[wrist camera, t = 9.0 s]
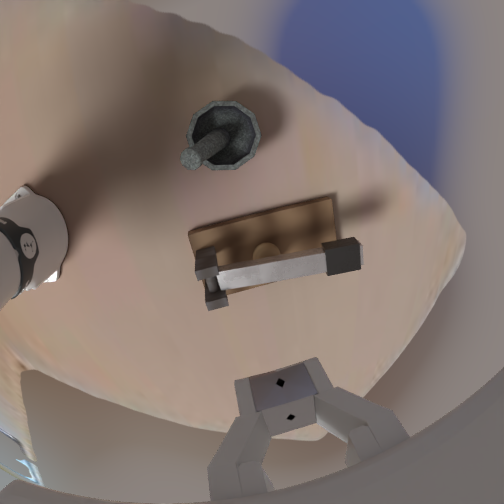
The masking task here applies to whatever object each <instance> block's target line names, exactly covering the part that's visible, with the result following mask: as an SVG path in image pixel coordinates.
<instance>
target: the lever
mask: <svg viewBox="0 0 504 504" xmlns="http://www.w3.org/2000/svg"><path fill="white" fill-rule="evenodd" d="M321 245H322V247H320V248H314V249H309V250H303V251H298V252H293V253H287V254H282V255H276V256H271V257H265V258H260V259H254V260H249V261H243V262H238V263H232V264H227V265H221V266H218V269H219V275H218V276H217V279H218V282H219V286H220V289H221V291H222V290H228V289H234V288H240V287H246V286H252V285H258V284H264V283H270V282H275V281H281V280H286V279H292V278H297V277H303V276H308V275H313V274H319V273H324V272H326V273H327V276H330V275H335V274H340V273H345V272H350V271H355V270H360V269H361V265H363V245H362V244H361V243H360V242H359V241H358V240H356V239H355V237H351V238H346V239H340V240H335V241H330V242H324V243H321Z"/></svg>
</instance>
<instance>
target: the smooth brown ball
mask: <svg viewBox="0 0 504 504" xmlns="http://www.w3.org/2000/svg"><path fill="white" fill-rule="evenodd" d="M276 255H281V254H280V251H279V249H278V248H277V247H276V246H275V245H274V244H272V243H262V244H260V245H258V246H257V247H256V248H255V250H254V252H253V260H254V259H260V258H265V257H271V256H276Z"/></svg>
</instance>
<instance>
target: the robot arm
mask: <svg viewBox="0 0 504 504" xmlns="http://www.w3.org/2000/svg"><path fill="white" fill-rule="evenodd" d="M19 195H20V196H21V197H20V196H19ZM67 247H68V233H67V227H66V224H65V221H64V219H63V216H62V214H61V213H60V211H59V210H58V208H57V207H56V206H55V205H54V204H53V203H52V202H51V201H50V200H48V199H47V198H45V197H42V196H39V195H36V194H35V193H33V191H32V190H31V189H30V188H28V187H27V186H22V187H20V188H19V189H18V190H17V191H16V192H15V193H14V194H13V195H12V196H11V197H10V198H9V199H8V200H7V201H6V202H5V203H4V204H3V205H2V206H1V207H0V311H1V309H2V308H3V307H4V306H5V305H6V303H7V302H8V301H9V300H10V299H13V298H15V297H16V296H18V295H19V294H21V293H22V292H23V291H24V290H26V291H29V290H30V289H36V288H38V287H39V286H40V285H41V284H42V283H43V282H55V281H56V280H57V279H58V278H59V275H60V265H61V263H62V261H63V259H64V257H65V255H66V252H67ZM234 385H235V391H236V396H237V402H238V407H239V413H240V416H239V417H236V418H235V420H234V422H233V424H232V425H231V427H230V429H229V431H228V433H227V435H226V436H225V438H224V440H223V442H222V443H221V445H220V447H219V449H218V450H217V452H216V454H215V455H214V457H213V459H212V461H211V462H210V464H209V466H208V468H207V470H208V480H209V490H210V498H211V501H208V502H196V503H174V504H504V367H503V368H502V369H501V371H499V372H498V373H497V374H496V375H495V376H494V377H493V378H492V379H491V380H489V381H488V382H487V383H486V384H485V385H484V386H483V387H481V388H480V389H479V390H478V391H477V392H475V393H474V394H473V395H472V396H470V397H469V398H468V399H467V400H465V401H464V402H463V403H461V404H460V405H459V406H457V407H456V408H455V409H453V410H452V411H450V412H449V413H447V414H446V415H445V416H443V417H442V418H440V419H439V420H437V421H436V422H434V423H433V424H432V425H430V426H428V427H426V428H425V429H423V430H421V431H420V432H419V433H417V434H415V435H413V436H412V437H410V436H409V435H408V434H407V432H406V430H405V429H404V427H403V426H402V424H401V423H400V421H399V420H398V418H397V417H396V415H395V414H394V412H393V411H392V410H390V409H388V408H385V407H383V406H380V405H378V404H376V403H373V402H371V401H369V400H366V399H364V398H362V397H360V396H357V395H355V394H353V393H351V392H348V391H346V390H344V389H342V388H340V387H335V388H334V387H333V385H332V384H331V382H330V380H329V378H328V376H327V374H326V373H325V371H324V369H323V367H322V365H321V363H320V362H319V360H318V358H317V357H314V358H311V359H308V360H305V361H303V362H299V363H296V364H293V365H290V366H287V367H283V368H280V369H277V370H275V371H271V372H267V373H263V374H259V375H255V376H251V377H247V378H243V379H239V380H235V382H234ZM314 423H317V424H318V425H320V426H321V427H323V428H324V429H326V430H327V431H329V432H330V433H332V434H333V435H335V436H336V437H338V438H340V439H341V440H343V441H344V442H346V443H348V444H347V451H346V458H345V463H346V465H347V468H345V469H343V470H340V471H337V472H335V473H332V474H329V475H326V476H324V477H321V478H318V479H315V480H312V481H308V482H305V483H302V484H298V485H295V486H291V487H287V488H284V489H279V490H274V487H273V484H272V482H271V481H270V479H269V477H268V476H267V474H266V472H265V471H264V469H263V467H262V462H263V459H264V457H265V454H266V451H267V449H268V446H269V443H270V440H271V436H275V435H278V434H282V433H285V432H288V431H291V430H294V429H298V428H301V427H305V426H308V425H311V424H314ZM0 504H149V503H132V502H120V501H119V502H118V501H110V500H102V499H96V498H89V497H84V496H78V495H73V494H69V493H64V492H60V491H56V490H52V489H48V488H45V487H41V486H38V485H35V484H32V483H29V482H26V481H23V480H14V481H12V482H11V483H10V484H8V485H7V486H6V487H5V488H4V489H3V490H2V491H1V492H0ZM150 504H152V503H150Z"/></svg>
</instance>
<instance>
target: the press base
mask: <svg viewBox="0 0 504 504" xmlns="http://www.w3.org/2000/svg"><path fill="white" fill-rule="evenodd" d="M188 237H189V241H190V244H191V247H192V250H193V253H194V257H195V274H196V277H197V280H198V281H199V280H202V281H203V284H204V287H205V302H206V306H207V308H208V311H210V310H214V309H218V308H222V307H225V306H229V305H228V299H227V295H229V294H233V293H236V292H240V291H244V290H248V289H251V288H255V287H258V286H262V285H266V284H269V283H264V284H258V285H252V286H246V287H240V288H234V289H228V290H222V291H221V289H220V286H219V282H218V279H217V276H218V275H219V269H218V266H221V265H227V264H232V263H238V262H243V261H249V260H253V252H254V250H255V248H256V247H257V246H258V245H260V244H262V243H272V244H274V245H275V246H276V247H277V248H278V249H279V251H280V254H281V255H282V254H287V253H293V252H298V251H303V250H309V249H314V248H320V247H322V245H321V243H324V242H330V241H335V240H337V239H336V230H335V221H334V213H333V205H332V199H331V198H329V197H323V198H319V199H314V200H310V201H306V202H302V203H297V204H293V205H289V206H285V207H281V208H276V209H272V210H268V211H264V212H260V213H256V214H252V215H248V216H245V217H241V218H237V219H233V220H229V221H225V222H222V223H218V224H214V225H210V226H207V227H203V228H199V229H196V230H192V231H188ZM275 282H276V281H275ZM270 283H273V282H270Z"/></svg>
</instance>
